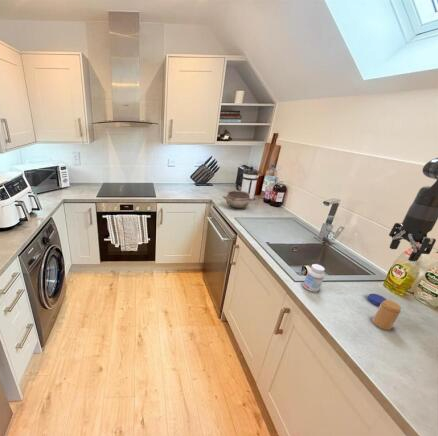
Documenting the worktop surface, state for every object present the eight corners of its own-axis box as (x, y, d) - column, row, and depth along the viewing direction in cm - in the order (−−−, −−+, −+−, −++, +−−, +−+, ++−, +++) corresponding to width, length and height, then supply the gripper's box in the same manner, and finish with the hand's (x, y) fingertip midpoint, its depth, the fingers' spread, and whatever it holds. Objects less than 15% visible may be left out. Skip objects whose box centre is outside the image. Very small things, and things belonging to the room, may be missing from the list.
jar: (383, 319, 89) (394, 300, 86) (395, 330, 85) (406, 310, 81) (368, 317, 90) (378, 298, 86) (379, 329, 85) (390, 309, 81)
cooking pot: (250, 204, 204) (253, 191, 199) (254, 212, 188) (257, 198, 183) (220, 202, 210) (222, 189, 205) (221, 209, 193) (223, 195, 188)
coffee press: (253, 196, 224) (259, 165, 212) (255, 202, 210) (262, 168, 198) (234, 195, 228) (239, 164, 216) (235, 200, 214) (240, 167, 202)
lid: (369, 303, 97) (371, 300, 96) (365, 294, 101) (367, 291, 101) (389, 309, 94) (390, 305, 93) (383, 299, 99) (385, 296, 98)
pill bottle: (300, 282, 109) (307, 262, 104) (315, 284, 108) (322, 263, 103) (306, 291, 104) (313, 270, 99) (321, 293, 102) (329, 272, 98)
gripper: (393, 208, 91) (377, 244, 97) (429, 223, 78) (407, 264, 84) (415, 209, 90) (397, 245, 96) (455, 224, 77) (431, 266, 83)
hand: (402, 254), depth 90 cm, fingers open, 8 cm apart
